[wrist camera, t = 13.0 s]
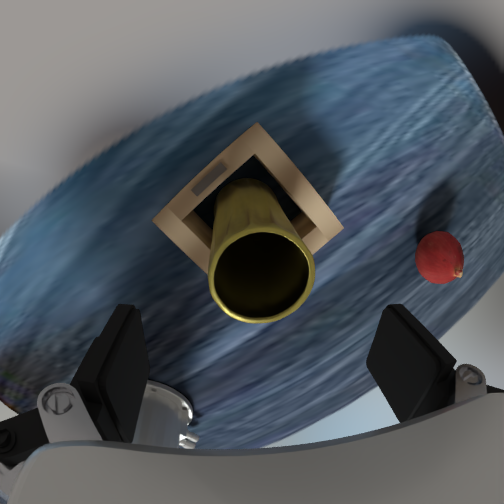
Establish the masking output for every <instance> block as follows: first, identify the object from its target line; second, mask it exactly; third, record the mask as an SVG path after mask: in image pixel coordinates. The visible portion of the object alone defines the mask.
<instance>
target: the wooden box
mask: <svg viewBox="0 0 504 504" xmlns="http://www.w3.org/2000/svg"><path fill="white" fill-rule="evenodd" d="M253 155H254V156H255V158H256V159H257V160H258V161H259V162H260V163H261V164H262V165H263V166H264V168H265V169H266V170H267V171H268V172H269V173H270V174H271V176H272V177H273V178H274V179H275V180H276V181H277V182H278V184H279V185H280V186H281V187H282V188H283V189H284V191H285V192H286V193H287V194H288V195H289V196H290V198H291V199H292V200H293V201H294V202H295V204H296V205H297V206H298V207H299V208H300V210H301V211H302V212H301V213H300V214H299V215H297V216H296V217H295V218H294V219H293V220H292V221H290V223H291V224H292V226H293V227H294V229H295V231H296V232H297V233H298V235H299V237H300V238H301V240H302V241H303V242H304V243H305V245H306V246H307V247H308V249H309V250H310V252H311V254H312V255H313V254H314V253H315V252H316V251H317V250H319V249H320V248H321V247H322V246H323V245H325V244H326V243H327V242H328V241H329V240H330V239H332V238H333V237H334V236H335V235H336V234H338V233H339V232H340V231H341V230H342V229H343V228H344V227H343V226H342V225H341V223H340V222H339V221H338V219H337V218H336V217H335V215H334V214H333V213H332V211H331V210H330V209H329V207H328V206H327V205H326V203H325V202H324V201H323V200H322V198H321V197H320V196H319V194H318V193H317V192H316V191H315V189H314V188H313V187H312V186H311V184H310V183H309V182H308V181H307V179H306V178H305V177H304V176H303V174H302V173H301V172H300V171H299V169H298V168H297V167H296V166H295V165H294V163H293V162H292V161H291V160H290V159H289V157H288V156H287V155H286V154H285V153H284V152H283V150H282V149H281V148H280V147H279V146H278V145H277V144H276V142H275V141H274V140H273V139H272V138H271V137H270V136H269V134H268V133H267V132H266V131H265V130H264V129H263V128H262V127H261V126H260V124H259V123H258V122H256V123H255V124H254V125H253V126H252V127H250V128H249V129H248V130H247V131H246V132H244V133H243V134H242V135H241V136H240V137H239V138H237V139H236V140H235V141H234V142H233V143H232V144H230V145H229V146H228V147H227V148H226V149H225V150H224V151H223V152H221V153H220V154H219V155H218V156H217V157H216V158H215V159H214V160H213V161H211V162H210V163H209V164H208V165H207V166H206V167H205V168H204V169H203V170H202V171H201V172H200V173H199V174H197V175H196V176H195V177H194V178H193V179H192V180H191V181H190V182H189V183H188V184H187V185H186V186H185V187H184V188H183V189H182V190H181V191H180V192H179V193H178V194H177V195H176V196H175V197H174V198H173V199H172V200H171V201H170V202H169V203H168V204H167V205H166V206H165V207H164V208H163V209H162V210H161V211H160V212H159V213H158V214H157V215H156V216H155V217H154V218H153V219H152V221H153V222H154V223H155V224H156V225H157V226H158V227H159V228H160V229H161V230H162V231H163V232H164V233H165V234H166V235H167V236H168V237H169V238H170V239H171V240H172V241H173V242H174V243H175V244H176V245H177V246H178V247H179V248H180V249H181V250H182V251H183V252H184V253H185V254H186V255H187V256H189V257H190V258H191V259H192V260H193V261H194V262H195V263H196V264H197V265H198V266H199V267H200V268H201V269H202V270H203V271H204V272H205V273H206V274H208V265H209V257H210V250H211V243H212V239H213V230H212V229H211V228H210V227H209V226H208V225H207V224H206V223H205V222H204V221H203V220H202V219H201V218H200V217H199V216H198V215H197V214H196V213H195V212H194V211H193V209H194V208H195V207H196V206H197V205H198V204H199V203H200V202H201V201H203V200H204V199H205V198H206V197H207V196H208V195H209V194H210V193H211V192H212V191H213V190H214V189H215V188H217V187H218V186H219V185H220V184H221V183H222V182H223V181H224V180H225V179H226V178H228V177H229V176H230V175H231V174H232V173H233V172H234V171H235V170H237V169H238V168H239V167H240V166H241V165H242V164H243V163H245V162H246V161H247V160H248V159H249V158H250V157H251V156H253Z"/></svg>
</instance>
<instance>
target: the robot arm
mask: <svg viewBox="0 0 504 504" xmlns="http://www.w3.org/2000/svg"><path fill="white" fill-rule="evenodd" d="M455 363H456V359H455V358H454V357H453V356H452V355H451V354H450V353H449V352H448V351H447V350H446V349H445V347H444V346H442V344H441V343H440V342H439V341H438V340H437V339H436V338H435V337H434V336H433V335H432V334H431V333H430V332H429V331H428V330H427V329H426V328H425V327H424V326H423V325H422V324H421V323H420V322H419V321H418V320H417V319H416V318H415V317H414V316H413V315H412V314H411V313H410V312H409V311H408V310H407V309H406V308H405V307H404V306H403V305H402V304H390V305H388V306H387V307H386V308H385V309H384V310H383V312H382V315H381V318H380V322H379V325H378V328H377V331H376V334H375V337H374V340H373V343H372V346H371V349H370V351H369V354H368V357H367V360H366V365H367V368H368V369H369V371H370V373H371V374H372V376H373V378H374V379H375V381H376V383H377V384H378V386H379V388H380V389H381V391H382V393H383V394H384V396H385V397H386V399H387V401H388V403H389V405H390V406H391V408H392V410H393V412H394V413H395V415H396V417H397V419H398V420H399V422H400V423H399V424H396V425H392V426H389V427H385V428H381V429H378V430H374V431H370V432H366V433H361V434H358V435H353V436H348V437H343V438H338V439H333V440H328V441H321V442H315V443H308V444H301V445H292V446H283V447H272V448H258V449H226V450H220V449H194V447H195V445H196V443H195V442H197V441H198V440H199V436H198V435H197V434H195V433H193V432H190V431H188V429H187V425H189V423H190V422H191V420H192V418H193V409H192V406H191V404H190V402H189V401H188V400H187V398H186V397H184V396H183V395H182V394H181V393H179V392H178V391H176V390H175V389H173V388H171V387H169V386H167V385H164V384H161V383H159V382H155V381H151V380H148V377H149V373H150V365H149V360H148V355H147V350H146V344H145V339H144V333H143V327H142V321H141V314H140V310H139V309H135V306H134V305H128V304H118V306H117V307H116V309H115V310H114V312H113V314H112V315H111V317H110V319H109V321H108V322H107V324H106V326H105V327H104V329H103V331H102V333H101V334H100V336H99V337H96V338H95V339H94V341H93V343H92V344H91V346H90V348H89V350H88V351H87V353H86V355H85V357H84V359H83V361H82V362H81V364H80V366H79V368H78V370H77V372H76V374H75V376H74V377H73V379H72V381H71V383H70V385H68V384H65V383H57V384H52V385H50V386H48V387H46V388H45V389H44V390H43V391H42V392H41V393H40V395H39V396H38V400H37V405H38V408H36V409H33V410H31V411H28V412H25V413H23V414H20V415H17V416H15V417H12V418H9V419H7V420H4V421H1V422H0V504H504V390H502V389H499V388H495V387H492V386H489V385H486V379H485V376H484V374H483V372H482V371H481V370H480V369H478V368H477V367H475V366H473V365H470V364H462V365H460V366H458V367H457V369H456V371H455V370H454V369H453V367H454V365H455ZM179 445H180V446H182V447H184V448H179Z"/></svg>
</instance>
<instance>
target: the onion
mask: <svg viewBox="0 0 504 504" xmlns="http://www.w3.org/2000/svg"><path fill="white" fill-rule="evenodd" d="M415 262H416V265H417V268H418V270H419V273H420V274H421V275H422V276H423V277H424V278H425V279H426V280H428V281H430V282H431V283H437V284H445V283H448V282H450V281H452V280H454V279H455V278H456V277H460V278H461V276H462V274H463V271H462V269H463V264H464V255H463V251H462V248H461V245H460V243H459V242H458V240H457V239H456V238H455V237H453V236H452V235H451V234H450V233H448V232H444V231H435V232H432V233H429V234H427V235H426V236H425V237H423V238H422V239H421V241H420V243H419V244H418V246H417V250H416V253H415Z"/></svg>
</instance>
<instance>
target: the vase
mask: <svg viewBox="0 0 504 504" xmlns="http://www.w3.org/2000/svg"><path fill="white" fill-rule="evenodd" d="M214 217H215V220H214V224H213V239H212V243H211V250H210V257H209V265H208V281H209V288H210V293H211V295H212V298H213V299H214V301H215V302H216V303H217V304H218V306H219V307H220V308H221V309H222V310H223V311H224V312H225V313H226V314H227V315H229V316H230V317H232V318H234V319H237V320H239V321H242V322H247V323H268V322H273V321H277V320H279V319H282V318H284V317H286V316H287V315H289V314H291V313H292V312H294V311H295V310H297V309H298V308H299V307H300V306H301V305H302V304H303V303H304V302H305V300H306V299H307V297H308V295H309V294H310V292H311V289H312V287H313V284H314V280H315V264H314V259H313V256H312V254H311V252H310V250H309V249H308V247H307V246H306V245H305V243H304V242H303V241H302V240H301V238H300V237H299V235H298V233H297V232H296V231H295V229H294V227H293V226H292V224H291V223H290V221H289V220H288V218H287V217H286V215H285V214H284V212H283V210H282V208H281V206H280V204H279V203H278V200H277V197H276V195H275V194H274V192H273V191H272V189H271V188H270V187H269V186H268V185H266V184H265V183H263V182H261V181H259V180H256V179H252V178H242V179H237V180H234V181H232V182H230V183H229V184H227V185H226V186H225V187H223V188H222V190H221V191H220V192H219V193H218V195H217V197H216V200H215V204H214Z"/></svg>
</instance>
